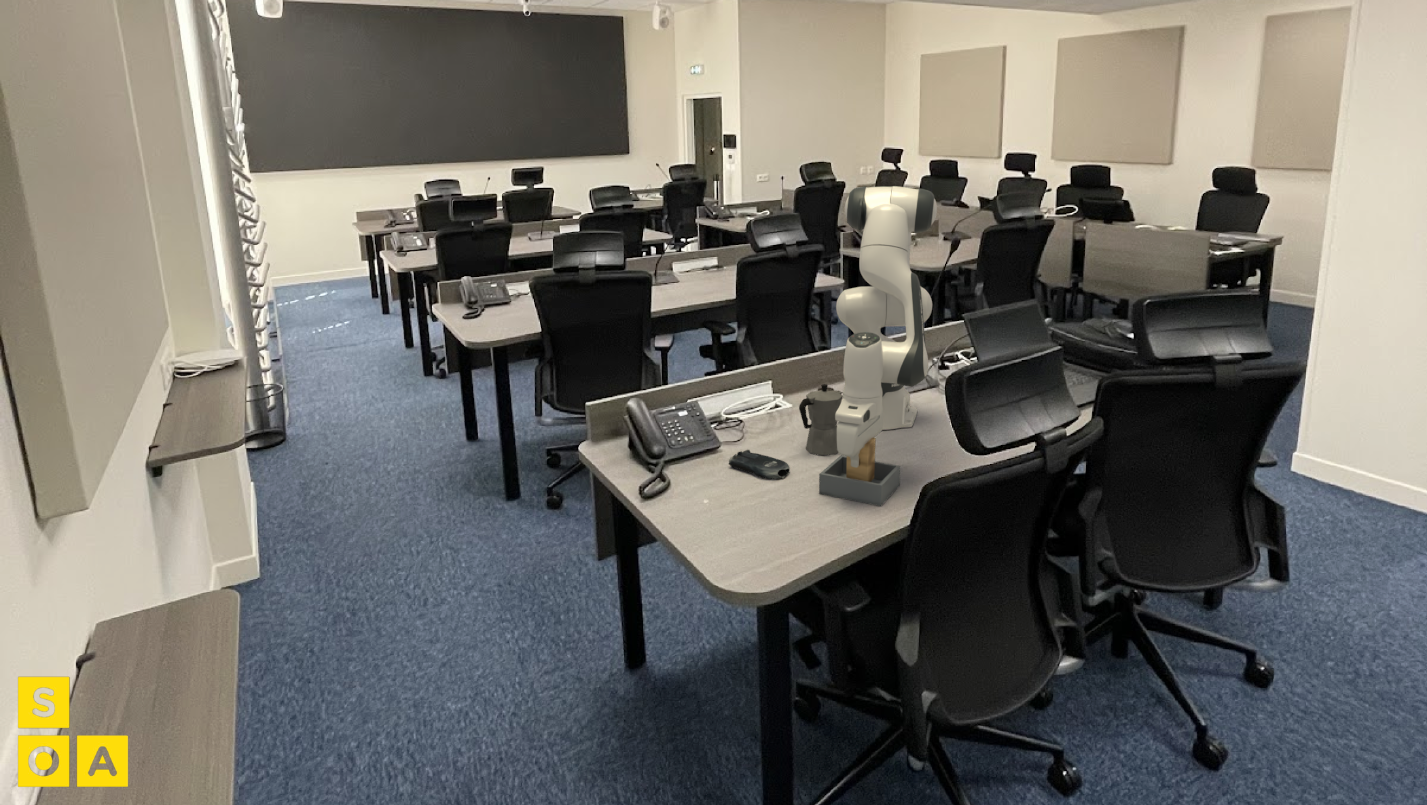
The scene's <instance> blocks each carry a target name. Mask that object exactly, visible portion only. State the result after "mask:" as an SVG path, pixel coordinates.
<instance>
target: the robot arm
mask: <svg viewBox="0 0 1427 805" xmlns="http://www.w3.org/2000/svg"><path fill="white" fill-rule="evenodd" d="M848 194H849V195H848V196H847V198H846V201H845V202H844V203H845V204H844V217H845V219H846V223H847V224H848V226H849V227H850V228H852V229H854V230H857V231H859V232H862V231H863V232H862V236H861V242H860V249H859V272H860V274H861V276H862V278H863V279H864V281H865V282H867V283H868V284H869V285H870V286H857V287H852V288H848V289H844V290H842V292H841V293H840V294H839V296H838V298H837V300H836V305H835V309H836V314H837V317H838V319H839V320H840V322H841V323H842V324H844V325H845V326H846V327H847V328H849V329H850V330H851V331H852V332H853V334H851V335H850V336H849V337H847V341H846V343H845V349H844V354H843V362H842V364H843V366H842V367H843V368H842V369H843V370H842V371H843V373H842V374H843V375H842V376H843V378H844V386H843V390H842V392H843V393H842V395H843V398H842V401H841V404H840V406H839V408H838V410H837V411H836V414H835V420H836V421H837V450H838V453H837V454H839V456H841V455H842V456H848V457H850V459H851V466H852V467H856V468H857V467H858V466H859V465H860V458H859V453H860V450H861V449H862V448H863V447H864V446H865V444H866V443H867V442H868V441H869V440H870V439H871V438H876V437H877V435H879V434H880V433H881V432H882V431H885V430H894V429H900V428H901V429H902V428H912V427H913V426H914V423H915V419H916V417H917V416H918V415H917V414H918V407H917V408H916V407H915V406H912V405H911V394H910V392H908V391H909V390H907V389H906V388H905V387H911V388H913V387H916V386H917V385H918V384H920V383H921V382H923V381H924V380H925V379H926V378H927V374H928V371H929V356H928V353H927V352H928V351H927V346H926V337H925V324H924V323H926V322H927V320H928V319H929V318H930V316H931V314H932V310H933V301H932V298H931V295H930V293H929V292H928V291H927V290H926V289H925V288H924V287H922V286H921V283H920V279H919V277H918V274H916V273H914V272H912V269H911V264H910V263H911V262H910V260H911V257H910V256H911V243H912V233H913V232H914V234H917V233H920V234H921V233H923V232H927V231H928V230H930V229H931V228H932V225H933V224H934V222H935V220H936V218H937V212H938V205H937V201H936V199H935V195H934V193H933V192H932V191H930V190H927V189H924V188H919V189H917V188H916V189H915V188H912V187H907V186H906V187H904V186H896V185H893V186H871V187H867V186H865V185H864V186H858V187H854V188H853V189H852V190H851V191H849V193H848ZM884 327H905V336H906V339H905V340H904V341H896V340H894V339H892V338H890V337H888V336H886V335H884V334H882V332H881V329H882V328H884Z"/></svg>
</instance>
